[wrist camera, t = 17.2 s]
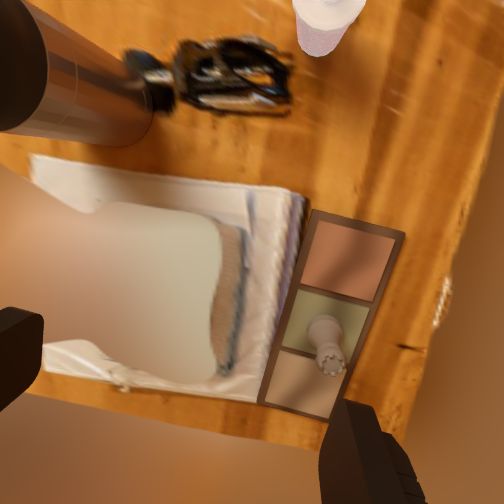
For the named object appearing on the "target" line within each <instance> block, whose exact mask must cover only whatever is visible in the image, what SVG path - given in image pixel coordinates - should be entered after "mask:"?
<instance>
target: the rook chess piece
mask: <svg viewBox="0 0 504 504" xmlns="http://www.w3.org/2000/svg"><path fill="white" fill-rule="evenodd" d="M306 331H307V336H308V340H309V341H310V343H311V344H312V346H314V347H315V348H316V349H317V352H316V353H317V357H316V365H317V367H318V369H319V370H320V371H322V372H323V374H325V375H326V376H327V375H328V374H331V377H336V374H337V373H339V374H340V375H341V374H342V373H343V372H344V371H343V369H344V368H345V367H346V364H347V358H346V355H345V354H344V352H342V349H341V347H340V346H339V344H340V343H341V341H342V338H343V332H342V326H341V324H340V322H339V321H338V320H337V319H336V318H334V317H333V316H329V315H318V316H316V317H314V318H313V319H312V320H311V321H310V322H309V323H308V325H307V329H306Z"/></svg>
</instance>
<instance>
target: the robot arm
mask: <svg viewBox="0 0 504 504" xmlns="http://www.w3.org/2000/svg"><path fill="white" fill-rule="evenodd" d="M152 116H153V102H152V96H151V93H150V90H149V88H148V86H147V84H146V82H145V81H144V79H143V78H142V77H141V76H140V75H139V73H137V72H136V71H135V70H134V69H132V68H131V67H130V66H128V65H126V64H125V63H123V62H122V61H120V60H119V59H117V58H116V57H114V56H113V55H111V54H110V53H108V52H106V51H105V50H103V49H102V48H100V47H99V46H97V45H95V44H94V43H92V42H91V41H89V40H88V39H86V38H85V37H83V36H81V35H80V34H78V33H77V32H75V31H74V30H72V29H70V28H69V27H67V26H66V25H64V24H63V23H61V22H59V21H58V20H56V19H55V18H53V17H52V16H50V15H49V14H47V13H45V12H44V11H42V10H41V9H39V8H38V7H36V6H34V5H32V4H31V3H29V2H28V1H26V0H0V133H8V134H16V135H24V136H34V137H42V138H50V139H58V140H66V141H74V142H82V143H90V144H97V145H105V146H114V147H123V146H128V145H131V144H133V143H135V142H137V141H138V140H139V139H141V138H142V137H143V135H144V134H145V133H146V132H147V130H148V128H149V126H150V124H151V120H152ZM43 330H44V319H43V317H42V316H41V315H40V314H37V313H33V312H30V311H26V310H23V309H19V308H15V307H7V308H4V309H2V310H0V412H1V411H2V410H3V409H4V408H5V407H7V406H8V405H9V404H10V403H11V402H12V401H14V400H15V399H16V398H17V397H18V396H19V395H20V394H22V393H23V392H24V391H25V390H27V389H28V388H29V387H30V385H31V384H32V383H33V382H34V380H35V379H36V377H37V375H38V373H39V370H40V367H41V360H42V345H43ZM318 467H319V468H318V469H319V470H318V471H319V481H320V491H321V500H322V504H428V503H426V502H425V496H424V494H423V491H422V489H421V486H420V484H419V482H417V477H416V474H415V472H414V470H413V467H412V465H411V463H410V460H409V458H408V456H407V454H406V453H405V451H404V450H403V449H402V447H401V446H400V445H399V444H398V442H397V441H396V440H395V439H394V437H393V436H392V435H391V434H389V433H385V432H382V431H381V428H380V425H379V422H378V419H377V417H376V414H375V411H374V409H373V407H371V406H369V405H366V404H362V403H358V402H355V401H351V400H347V399H344V398H341V399H340V400H339V401H338V403H337V405H336V407H335V410H334V413H333V415H332V418H331V421H330V423H329V426H328V429H327V431H326V434H325V437H324V439H323V442H322V445H321V449H320V454H319V465H318Z"/></svg>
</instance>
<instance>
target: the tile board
mask: <svg viewBox="0 0 504 504" xmlns="http://www.w3.org/2000/svg"><path fill="white" fill-rule="evenodd" d="M405 234H406V233H404V232H402V231H398V230H394V229H390V228H386V227H382V226H379V225H375V224H371V223H367V222H363V221H359V220H355V219H351V218H347V217H343V216H339V215H335V214H331V213H327V212H323V211H319V210H315V209H312V212H311V215H310V219H309V222H308V226H307V229H306V233H305V236H304V239H303V243H302V246H301V250H300V253H299V257H298V260H297V263H296V267H295V270H294V274H293V277H292V281H291V284H290V287H289V291H288V294H287V298H286V301H285V305H284V308H283V311H282V315H281V318H280V322H279V325H278V329H277V332H276V335H275V339H274V342H273V346H272V349H271V352H270V356H269V359H268V363H267V366H266V370H265V373H264V376H263V380H262V383H261V387H260V390H259V394H258V397H257V403H258V404H262V405H265V406H269V407H273V408H276V409H280V410H283V411H287V412H291V413H294V414H298V415H301V416H305V417H309V418H312V419H316V420H319V421H323V422H327V423H330V421H331V418H332V415H333V413H334V410H335V407H336V405H337V403H338V401H339V400H340V399H341V398H343V397H344V394H345V391H346V389H347V386H348V384H349V381H350V378H351V376H352V373H353V370H354V368H355V365H356V363H357V360H358V357H359V355H360V352H361V349H362V347H363V344H364V342H365V339H366V336H367V334H368V331H369V328H370V326H371V323H372V321H373V318H374V315H375V313H376V310H377V307H378V305H379V302H380V300H381V297H382V294H383V292H384V289H385V286H386V284H387V281H388V279H389V276H390V273H391V271H392V268H393V265H394V263H395V260H396V258H397V255H398V252H399V250H400V247H401V244H402V242H403V239H404V237H405ZM318 315H329V316H333V317H334V318H336V319H337V320H338V321H339V322H340V324H341V326H342V332H343V338H342V341H341V343H340V344H339V346H340V347H341V349H342V352H344V354H345V355H346V358H347V364H346V367H345V368H344V369H343V371H344V372H343V373H342V374H341V375H340V374H339V373H337V374H336V377H331V374H328V375H327V376H326V375H325V374H323V372H322V371H320V370H319V369H318V367H317V365H316V357H317V353H316V352H317V349H316V348H315V347H314V346H312V344H311V343H310V341H309V340H308V336H307V331H306V329H307V325H308V323H309V322H310V321H311V320H312V319H313V318H314V317H316V316H318Z"/></svg>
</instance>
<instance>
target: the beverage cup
mask: <svg viewBox="0 0 504 504" xmlns="http://www.w3.org/2000/svg"><path fill="white" fill-rule="evenodd" d="M292 2H293V9H294V11H295V13H296V21H297V34H298V42H299V44H300V46H301V48H302V50H303V51H305V52H306V53H307V54H308V55H311V56H315V57H319V56H324V55H327V54H328V53H330V52H331V51H333V50H334V48H335V47H336V45H337V44H338V43H339V41H340V39H341V38H342V36H343V34H344V33H345V31H346V29H347V28H348V26H349V25H350V24H351V23H353V21H354V20H355V18H356V17H357V16H358V14H359V13H360V11H361V10H362V9H363V7H364V5H365V3H366V0H292Z"/></svg>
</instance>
